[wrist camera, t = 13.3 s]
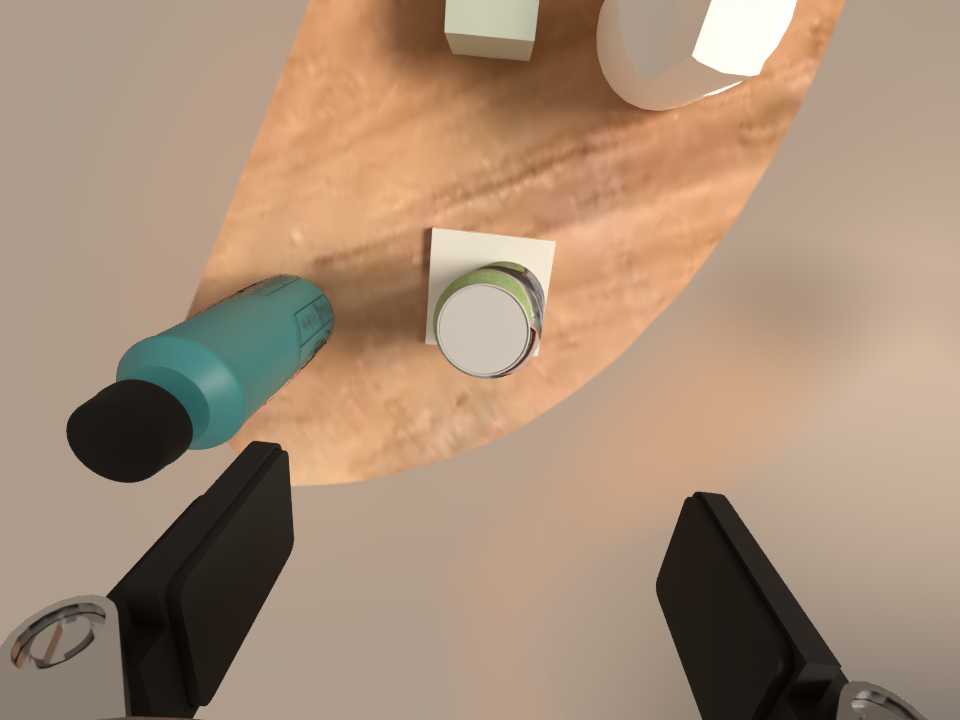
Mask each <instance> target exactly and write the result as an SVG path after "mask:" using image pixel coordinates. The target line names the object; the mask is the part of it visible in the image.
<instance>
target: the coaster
mask: <svg viewBox="0 0 960 720" xmlns="http://www.w3.org/2000/svg"><path fill="white" fill-rule="evenodd" d="M555 244H556V241H555V240H549V239H540V238H531V237H522V236H513V235H504V234H495V233H486V232H477V231H468V230H458V229H449V228H440V227H433V228H432V242H431V259H430V275H429V292H428V308H427V325H426V341H425V344H430V345H437V343H436V340H435V336H434V331H433V316H434V311H435V307H436V304H437V302H438V300H439V298H440V296H441V294H442V293H443V292H444V290H445V289H446V288H447V287H448V286H449V285H450V284H451V283H452V282H453V281H454V280H456V279H457V278H459V277H461V276H463V275H465V274H467V273H470V272H472V271H474V270H477V269H479V268H481V267H484V266H486V265H488V264H491V263H494V262H501V261H507V262H514V263H517V264H520V265H522V266H524V267H525V268H527V269H528V270H529V271H531V272H532V273H533V274H534V275H535V276H536V278H537V279H538V281H539V282H540V284H541V287H542V289H543V292H544V298H545V306H546V300H547V294H548V288H549V281H550V275H551V269H552V263H553V257H554V250H555ZM544 313H545V307H544ZM543 319H544V316H543ZM542 325H543V324H542ZM539 344H540V341H539ZM539 344H538V347H537V349H536V351H535V352H534V354H533V356H538V350H539Z"/></svg>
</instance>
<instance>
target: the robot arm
mask: <svg viewBox="0 0 960 720" xmlns="http://www.w3.org/2000/svg"><path fill="white" fill-rule="evenodd" d="M292 517H293V516H292V501H291V486H290V471H289V456H288V453H287V451H284V450H282V449H281V446H280V444H278V443H270V442H261V441H252V442H251V443H250V444H249V445H248V446H247V447H246V448H245V449H244V450H243V451H242V453H241V454H240V455H239V456H238V457H237V458H236V459H235V460H234V462H233V463H232V464H231V465H230V466H229V467H228V468H227V469H226V470H225V471H224V473H223V474H222V475H221V476H220V477H219V478H218V479H217V480H216V481H215V483H214V484H213V485H212V486H211V487H210V488H209V489H208V490H207V491H206V493H205V494H204V495H201V496H199V497H198V498H197V499H195V500H194V501H193V502H192V503H191V504H190V505H189V506H188V508H186V510H185V511H184V512H183V513H182V514H181V515H180V516H179V517H178V518H177V519H176V520H175V522H174V523H173V524H172V525H171V526H170V527H169V528H168V529H167V530H166V531H165V533H164V534H163V535H162V536H161V537H160V538H159V539H158V540H157V541H156V542H155V543H154V545H153V546H152V547H151V548H150V549H149V550H148V551H147V552H146V553H145V554H144V555H143V557H142V558H141V559H140V560H139V561H138V562H137V563H136V564H135V565H134V566H133V567H132V569H131V570H130V571H129V572H128V573H127V574H126V575H125V576H124V577H123V578H122V580H121V581H120V582H119V583H118V584H117V585H116V586H115V587H114V588H113V589H112V590H111V591H110V593H109V594H108V595H107V596H106V597H103V596H97V595H85V596H77V597H73V598H69V599H65V600H62V601H59V602H57V603H55V604H53V605H51V606H48V607H46V608H44V609H42V610H41V611H39V612H38V613H36V614H34V615H33V616H31V617H29V618H28V619H26V620H25V621H24V622H23V623H22V624H21V625H20V626H18V627H17V628H16V629H15V630H14V631H12V633H11V634H10V635H9V636H8V638H7V639H6V640H5V641H4V643H3V644H2V645H1V647H0V720H199V719H193V717H194V715H195V713H196V711H197V710H198V708H199V706H206V705H208V704H209V702H210V701H211V700H212V698H213V696H214V695H215V693H216V691H217V689H218V687H219V685H220V684H221V682H222V680H223V678H224V676H225V674H226V672H227V671H228V669H229V667H230V665H231V663H232V661H233V660H234V658H235V656H236V654H237V652H238V650H239V648H240V646H241V645H242V643H243V641H244V639H245V637H246V635H247V634H248V632H249V630H250V628H251V626H252V624H253V623H254V621H255V619H256V617H257V615H258V613H259V611H260V609H261V608H262V606H263V604H264V602H265V600H266V598H267V597H268V595H269V593H270V591H271V589H272V587H273V585H274V584H275V582H276V580H277V578H278V576H279V574H280V573H281V571H282V569H283V567H284V565H285V563H286V561H287V560H288V558H289V556H290V553H291V551H292V548H293V543H294V532H293V518H292ZM656 592H657V596H658V599H659V602H660V605H661V608H662V610H663V613H664V616H665V618H666V621H667V624H668V627H669V630H670V632H671V635H672V638H673V641H674V643H675V646H676V649H677V652H678V654H679V657H680V660H681V662H682V665H683V668H684V670H685V673H686V676H687V679H688V682H689V684H690V687H691V690H692V693H693V695H694V698H695V701H696V703H697V706H698V709H699V712H700V714H701V717H702V720H928V719H927V718H925V717H924V716H923V715H922V714H921V713H920V712H919V711H918V710H917V709H915V707H913V706H912V705H911V704H909V703H908V702H906V701H905V700H903V699H902V698H901V697H899V696H898V695H896V694H895V693H893V692H891V691H889V690H887V689H885V688H883V687H881V686H879V685H875V684H872V683H869V682H865V681H852V682H850V683H849V681H848V680H847V679H846V677H845V675H844V674H843V672H842V671H841V669H840V668H841V665H840V664H839V662H838V661H837V659H836V658H835V656H834V655H833V653H832V652H831V650H830V649H829V647H828V646H827V644H826V643H825V641H824V640H823V639H822V637H821V636H820V634H819V633H818V631H817V630H816V628H815V627H814V625H813V624H812V622H811V621H810V619H809V618H808V617H807V615H806V614H805V612H804V611H803V609H802V608H801V606H800V605H799V603H798V602H797V600H796V599H795V597H794V596H793V595H792V593H791V592H790V590H789V589H788V587H787V586H786V584H785V583H784V581H783V580H782V578H781V577H780V576H779V574H778V573H777V571H776V570H775V568H774V567H773V565H772V564H771V562H770V561H769V559H768V558H767V556H766V555H765V554H764V552H763V551H762V549H761V548H760V546H759V545H758V543H757V542H756V540H755V539H754V537H753V536H752V534H751V533H750V532H749V530H748V529H747V527H746V526H745V525H744V523H743V521H742V520H741V518H740V517H739V515H738V514H737V513H736V511H735V510H734V508H733V507H732V505H731V504H730V502H729V501H728V499H727V498H726V497H725V496H724V495H722V494H716V493H707V492H695V493H694V494H693V496H692V497H687V498H686V500H685V501H684V504H683V507H682V510H681V513H680V515H679V518H678V521H677V524H676V527H675V529H674V532H673V535H672V538H671V541H670V544H669V546H668V549H667V552H666V555H665V558H664V560H663V563H662V566H661V569H660V572H659V575H658V577H657V581H656Z"/></svg>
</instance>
